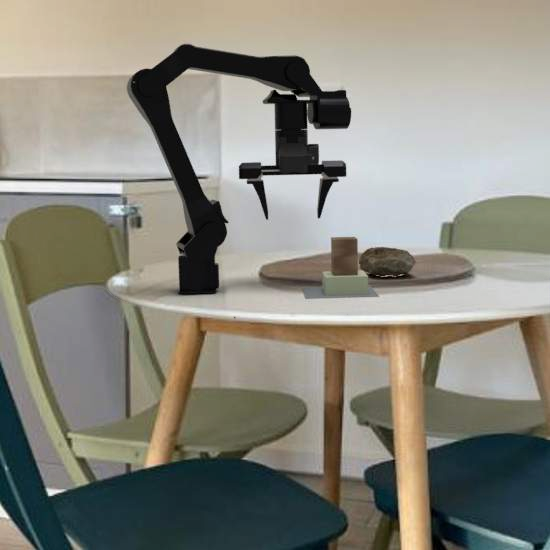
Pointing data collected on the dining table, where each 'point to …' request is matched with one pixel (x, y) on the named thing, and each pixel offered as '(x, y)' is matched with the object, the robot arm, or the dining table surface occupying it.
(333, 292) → the base block
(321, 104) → the robot arm
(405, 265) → the stone
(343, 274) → the walnut block
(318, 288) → the build mat
